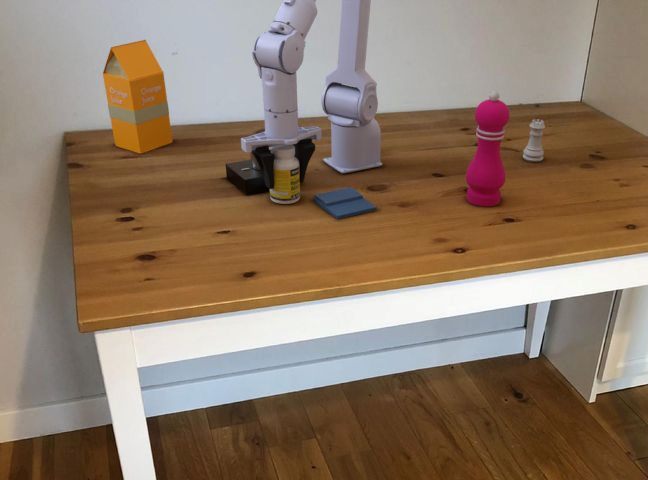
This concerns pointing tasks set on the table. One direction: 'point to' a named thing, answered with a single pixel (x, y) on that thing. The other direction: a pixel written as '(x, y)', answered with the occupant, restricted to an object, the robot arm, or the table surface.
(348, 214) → the dish cloth
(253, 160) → the knob
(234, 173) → the panel
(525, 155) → the rook chess piece
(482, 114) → the pepper mill
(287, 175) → the supplement bottle
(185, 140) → the table surface
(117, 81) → the orange juice
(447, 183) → the table surface
